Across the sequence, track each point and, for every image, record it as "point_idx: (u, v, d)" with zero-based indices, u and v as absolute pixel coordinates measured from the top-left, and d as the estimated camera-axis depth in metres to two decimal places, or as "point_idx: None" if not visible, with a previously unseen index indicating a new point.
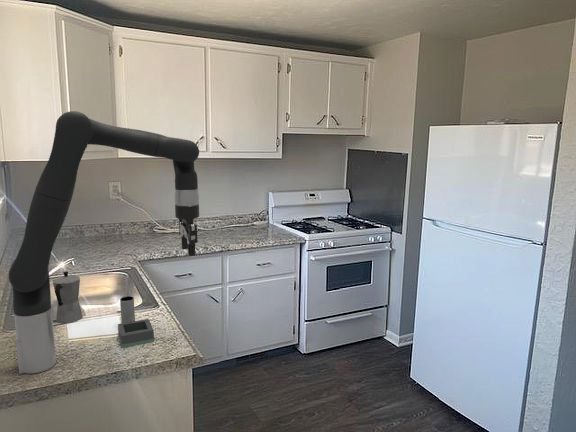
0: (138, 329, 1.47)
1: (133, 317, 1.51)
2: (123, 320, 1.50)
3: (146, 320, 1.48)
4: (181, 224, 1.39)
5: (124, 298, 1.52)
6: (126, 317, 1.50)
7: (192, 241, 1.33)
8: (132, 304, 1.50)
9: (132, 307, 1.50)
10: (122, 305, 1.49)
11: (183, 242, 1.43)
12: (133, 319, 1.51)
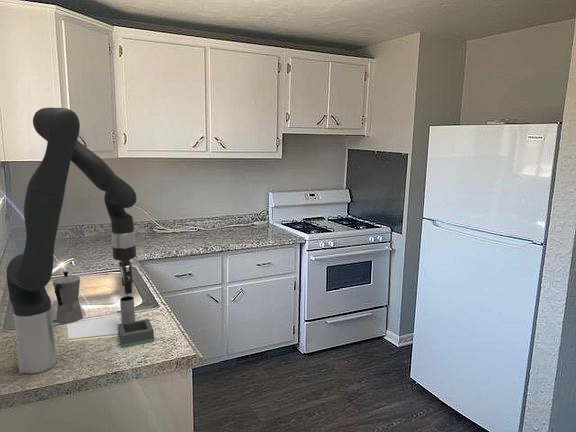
0: (138, 329, 1.47)
1: (133, 317, 1.51)
2: (123, 320, 1.50)
3: (146, 320, 1.48)
4: (119, 264, 1.48)
5: (124, 298, 1.52)
6: (126, 317, 1.50)
7: (127, 281, 1.43)
8: (132, 304, 1.50)
9: (132, 307, 1.50)
10: (122, 305, 1.49)
11: (123, 279, 1.53)
12: (133, 319, 1.51)
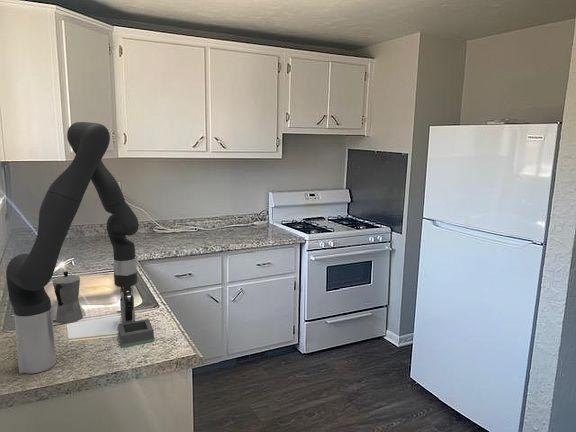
0: (138, 329, 1.47)
1: (133, 317, 1.51)
2: (123, 320, 1.50)
3: (146, 320, 1.48)
4: (120, 289, 1.50)
5: None
6: None
7: (128, 309, 1.46)
8: None
9: None
10: (122, 305, 1.49)
11: None
12: (133, 319, 1.51)
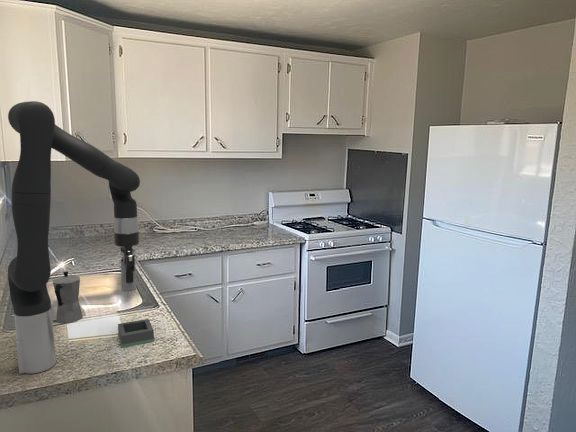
0: (138, 329, 1.47)
1: (134, 280, 1.43)
2: (124, 283, 1.42)
3: (146, 320, 1.48)
4: (121, 250, 1.42)
5: None
6: None
7: (129, 270, 1.38)
8: None
9: None
10: (123, 266, 1.41)
11: None
12: (134, 282, 1.43)
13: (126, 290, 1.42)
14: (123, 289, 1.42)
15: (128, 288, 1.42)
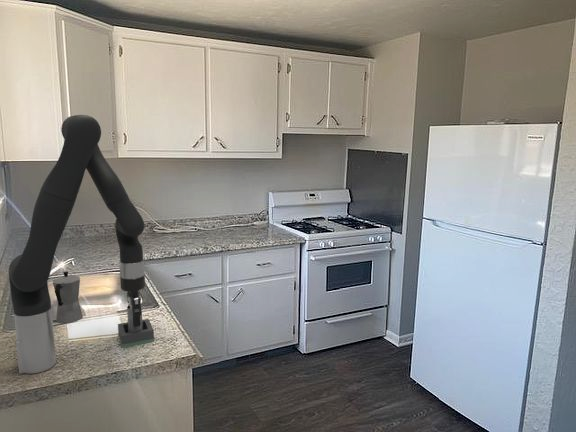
0: None
1: (141, 326, 1.42)
2: (130, 329, 1.41)
3: (146, 320, 1.48)
4: (127, 294, 1.40)
5: None
6: (133, 326, 1.40)
7: (136, 314, 1.35)
8: None
9: None
10: (129, 313, 1.40)
11: None
12: (141, 328, 1.42)
13: None
14: None
15: None
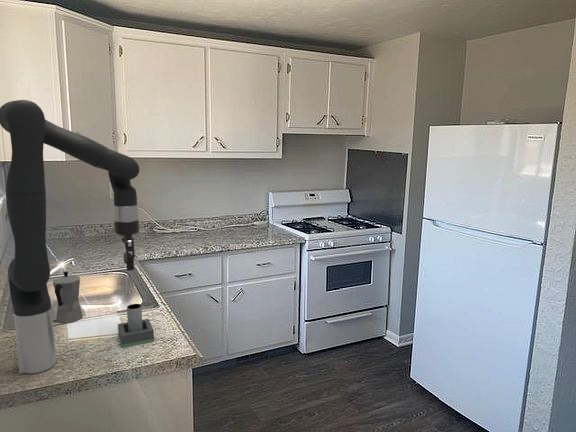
0: None
1: (141, 326, 1.42)
2: (130, 329, 1.41)
3: (146, 320, 1.48)
4: (121, 239, 1.41)
5: (131, 306, 1.43)
6: (133, 326, 1.40)
7: (129, 257, 1.36)
8: (140, 312, 1.41)
9: (140, 315, 1.41)
10: (129, 313, 1.40)
11: (125, 256, 1.46)
12: (141, 328, 1.42)
13: None
14: None
15: None
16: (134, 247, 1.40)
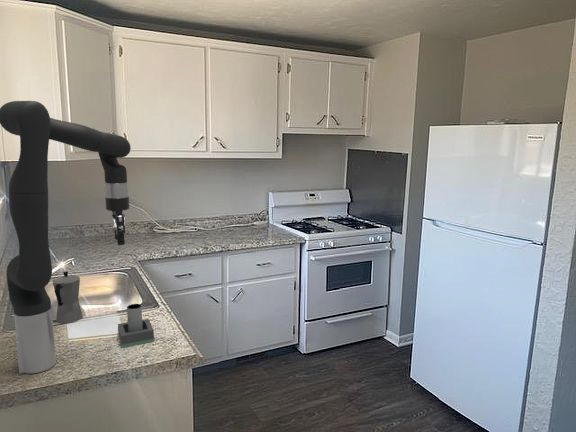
0: None
1: (141, 326, 1.42)
2: (130, 329, 1.41)
3: (146, 320, 1.48)
4: (112, 215, 1.48)
5: (131, 306, 1.43)
6: (133, 326, 1.40)
7: (120, 231, 1.42)
8: (140, 312, 1.41)
9: (140, 315, 1.41)
10: (129, 313, 1.40)
11: (116, 233, 1.52)
12: (141, 328, 1.42)
13: None
14: None
15: None
16: None
